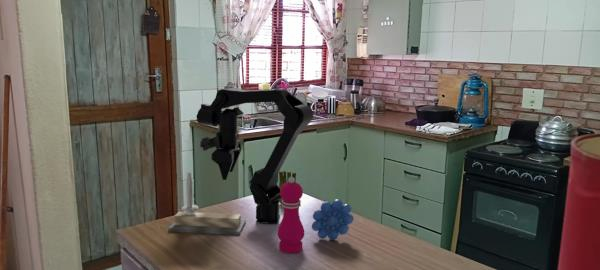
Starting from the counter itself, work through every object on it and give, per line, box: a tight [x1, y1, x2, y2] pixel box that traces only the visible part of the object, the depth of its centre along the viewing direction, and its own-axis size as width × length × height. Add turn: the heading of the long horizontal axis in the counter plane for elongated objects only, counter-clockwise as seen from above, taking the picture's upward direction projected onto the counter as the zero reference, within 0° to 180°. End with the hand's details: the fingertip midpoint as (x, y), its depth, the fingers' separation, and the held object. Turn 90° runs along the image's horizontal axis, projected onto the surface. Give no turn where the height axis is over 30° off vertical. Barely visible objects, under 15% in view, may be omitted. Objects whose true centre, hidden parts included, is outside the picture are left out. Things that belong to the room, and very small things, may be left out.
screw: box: [181, 172, 199, 216], centre depth 136 cm, size 13×5×5 cm
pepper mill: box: [276, 176, 305, 254], centre depth 122 cm, size 7×7×20 cm
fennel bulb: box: [278, 170, 297, 205], centre depth 157 cm, size 6×5×12 cm
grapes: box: [311, 198, 354, 241], centre depth 130 cm, size 12×7×12 cm, turn 85°
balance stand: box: [167, 211, 247, 236], centre depth 137 cm, size 21×9×4 cm, turn 85°
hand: (227, 175), depth 149 cm, fingers open, 9 cm apart
